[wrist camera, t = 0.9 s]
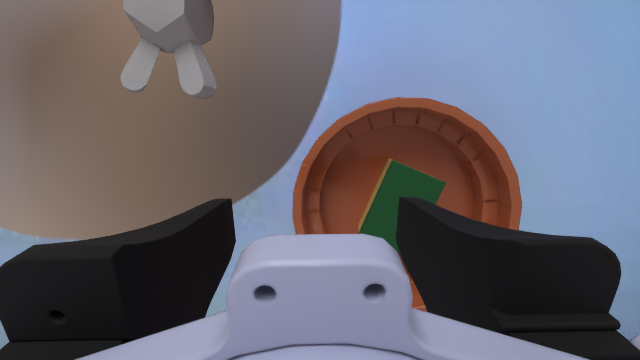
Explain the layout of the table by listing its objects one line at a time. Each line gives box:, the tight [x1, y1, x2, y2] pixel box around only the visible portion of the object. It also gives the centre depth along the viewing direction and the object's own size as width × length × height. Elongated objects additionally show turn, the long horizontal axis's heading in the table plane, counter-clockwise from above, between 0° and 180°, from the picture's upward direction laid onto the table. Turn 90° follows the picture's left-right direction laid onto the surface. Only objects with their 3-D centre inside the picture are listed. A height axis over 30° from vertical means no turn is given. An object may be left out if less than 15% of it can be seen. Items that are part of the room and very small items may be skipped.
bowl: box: [293, 97, 522, 312], centre depth 25 cm, size 16×16×4 cm
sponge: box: [358, 158, 446, 254], centre depth 25 cm, size 6×4×3 cm, turn 157°
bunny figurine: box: [120, 0, 217, 99], centre depth 25 cm, size 10×5×15 cm
